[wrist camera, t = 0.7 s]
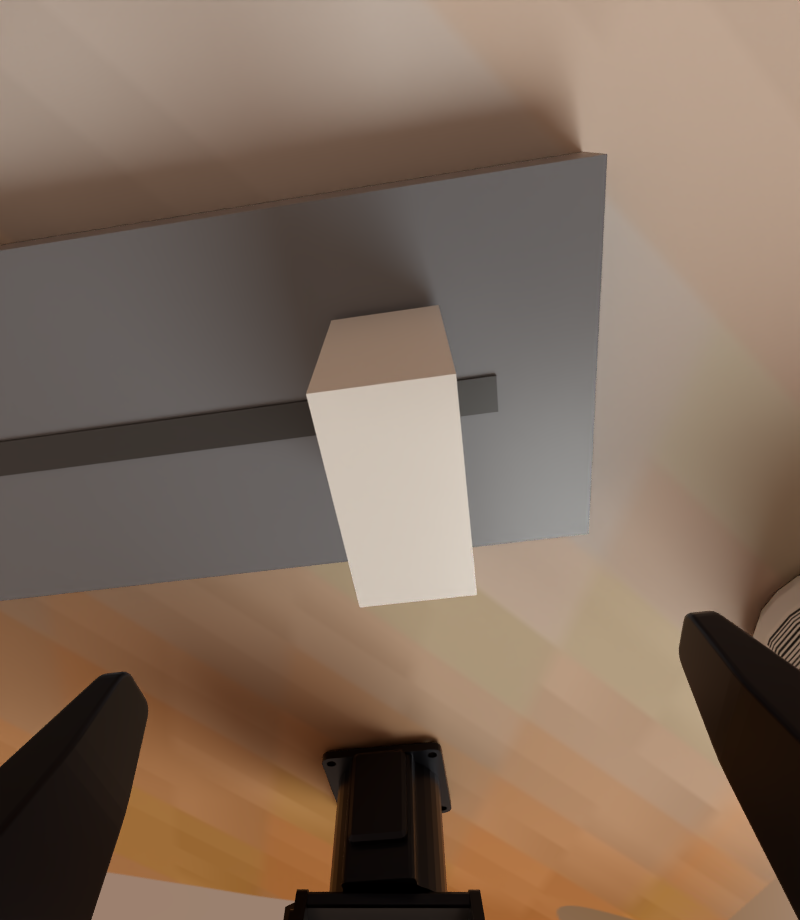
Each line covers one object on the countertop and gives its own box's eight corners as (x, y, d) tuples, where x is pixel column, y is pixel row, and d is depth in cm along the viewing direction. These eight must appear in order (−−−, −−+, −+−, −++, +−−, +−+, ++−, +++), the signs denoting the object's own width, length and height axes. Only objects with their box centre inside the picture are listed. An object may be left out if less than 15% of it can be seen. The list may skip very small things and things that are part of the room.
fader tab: (457, 484, 18) (476, 594, 14) (368, 495, 18) (359, 607, 14) (438, 305, 15) (456, 373, 11) (331, 320, 15) (306, 394, 11)
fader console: (572, 501, 21) (589, 535, 19) (-137, 585, 23) (-182, 623, 21) (583, 151, 15) (608, 154, 13) (-384, 306, 17) (-476, 326, 15)
